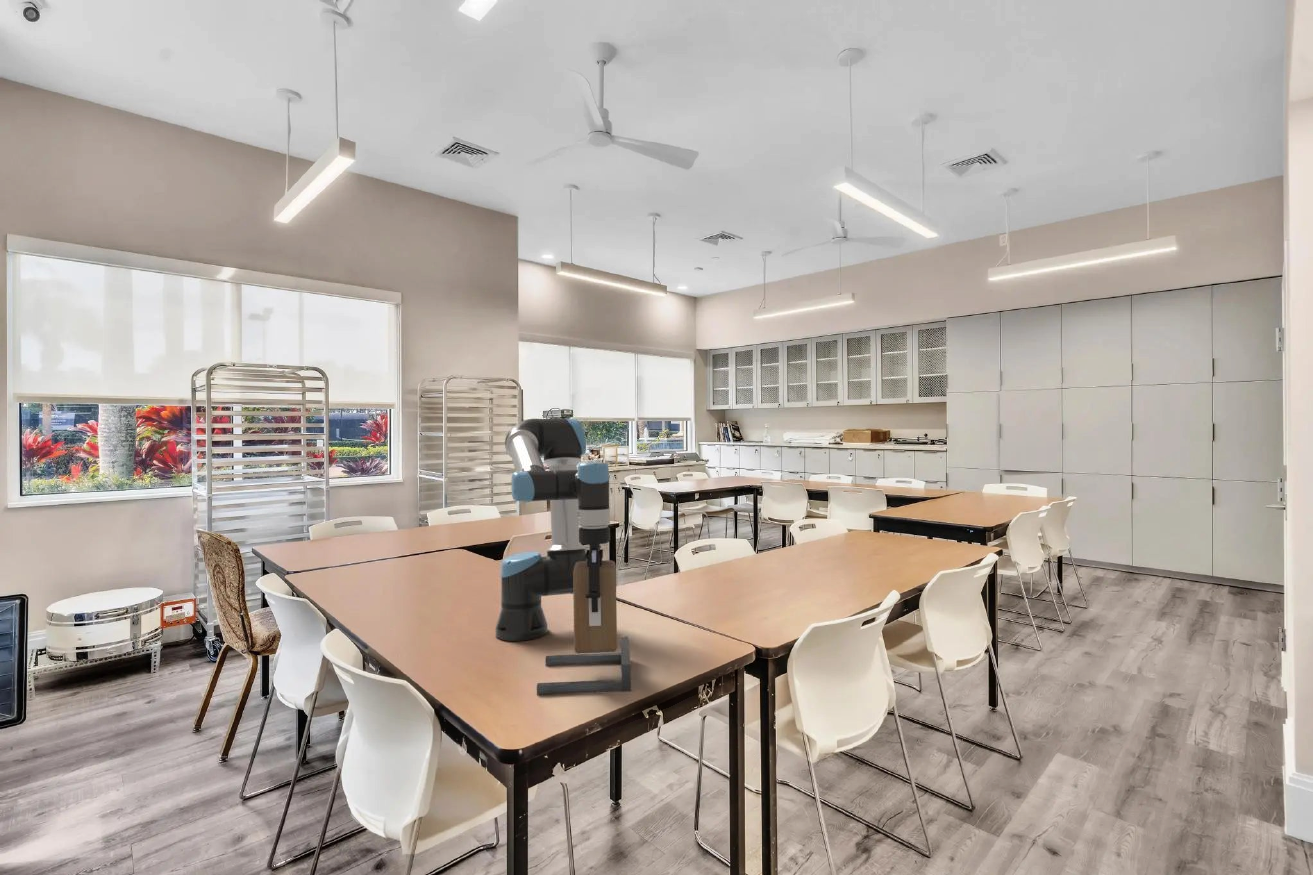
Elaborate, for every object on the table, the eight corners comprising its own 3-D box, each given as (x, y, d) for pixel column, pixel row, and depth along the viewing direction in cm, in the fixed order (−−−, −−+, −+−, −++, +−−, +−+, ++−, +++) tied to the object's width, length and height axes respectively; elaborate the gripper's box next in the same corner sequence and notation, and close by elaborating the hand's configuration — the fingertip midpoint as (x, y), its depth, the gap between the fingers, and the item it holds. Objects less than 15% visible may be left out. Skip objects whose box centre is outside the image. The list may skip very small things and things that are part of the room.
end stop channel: (536, 695, 135) (536, 668, 135) (546, 663, 155) (546, 639, 155) (630, 690, 136) (630, 664, 136) (628, 659, 156) (628, 636, 156)
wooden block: (576, 641, 150) (575, 560, 151) (616, 639, 151) (615, 559, 151) (574, 655, 140) (572, 568, 141) (617, 653, 141) (615, 567, 141)
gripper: (581, 521, 157) (582, 607, 157) (575, 533, 135) (577, 633, 134) (610, 520, 158) (611, 606, 157) (609, 532, 135) (611, 632, 135)
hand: (595, 618), depth 146 cm, fingers closed on wooden block, 10 cm apart
